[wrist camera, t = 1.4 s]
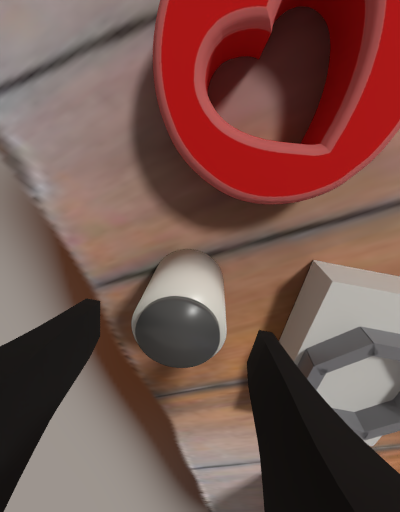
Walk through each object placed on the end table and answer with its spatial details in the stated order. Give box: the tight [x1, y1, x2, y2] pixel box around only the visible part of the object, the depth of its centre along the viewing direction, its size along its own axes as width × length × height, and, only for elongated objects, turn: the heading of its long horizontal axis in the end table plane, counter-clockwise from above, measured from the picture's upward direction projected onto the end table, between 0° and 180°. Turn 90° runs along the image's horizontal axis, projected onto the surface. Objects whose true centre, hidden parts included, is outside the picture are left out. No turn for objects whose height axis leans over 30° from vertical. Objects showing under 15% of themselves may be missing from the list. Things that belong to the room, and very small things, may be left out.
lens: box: [132, 249, 227, 368], centre depth 13 cm, size 4×4×5 cm
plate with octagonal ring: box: [279, 260, 400, 446], centre depth 15 cm, size 12×8×4 cm, turn 170°
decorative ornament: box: [153, 0, 400, 204], centre depth 9 cm, size 10×10×3 cm
